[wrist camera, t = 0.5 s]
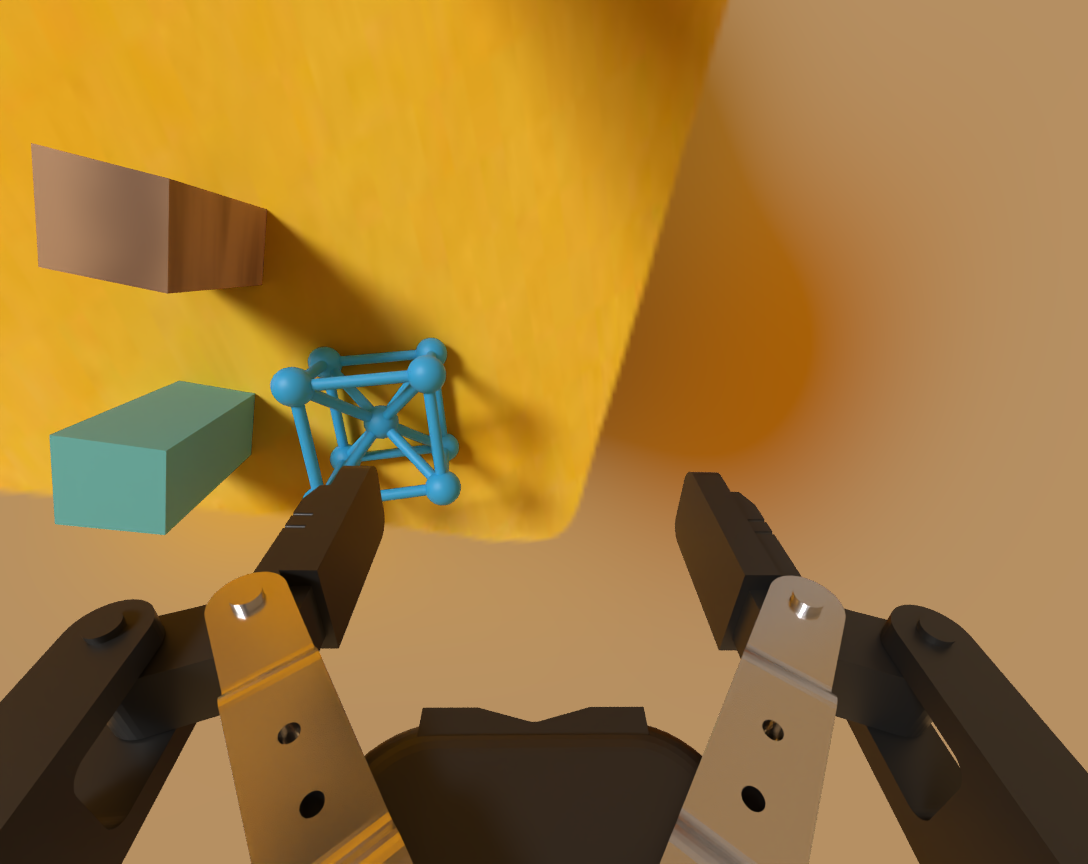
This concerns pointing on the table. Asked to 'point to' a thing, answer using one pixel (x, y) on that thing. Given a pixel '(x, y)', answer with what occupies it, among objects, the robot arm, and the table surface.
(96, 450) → the teal pillar
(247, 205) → the walnut pillar
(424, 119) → the table surface
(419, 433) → the molecular structure
